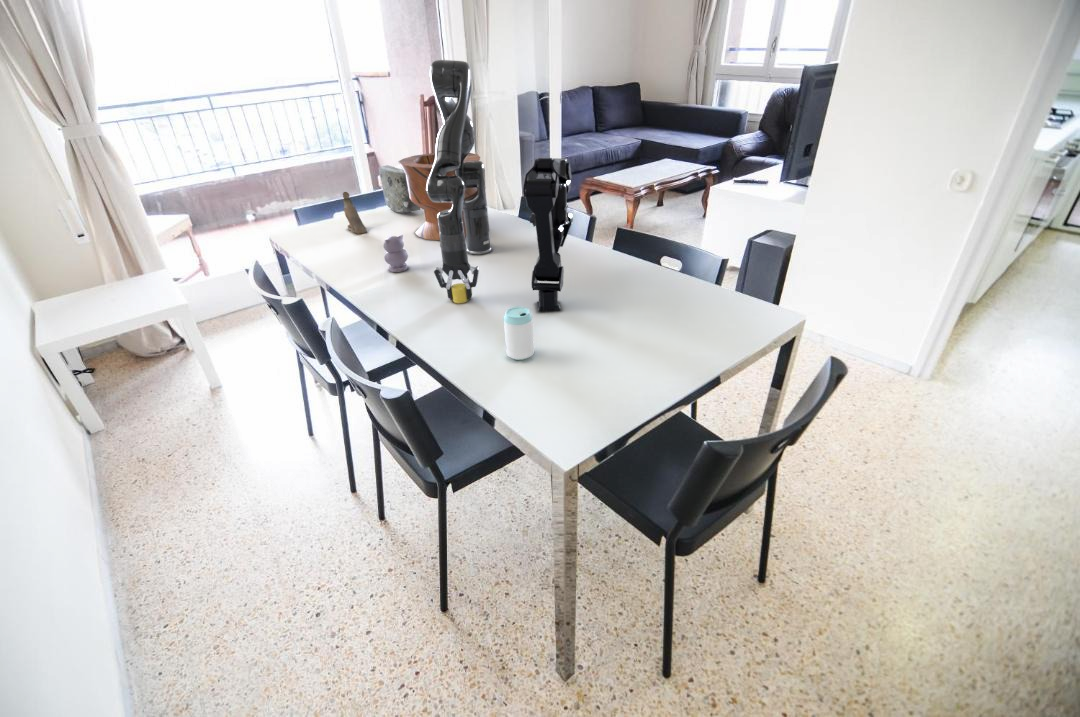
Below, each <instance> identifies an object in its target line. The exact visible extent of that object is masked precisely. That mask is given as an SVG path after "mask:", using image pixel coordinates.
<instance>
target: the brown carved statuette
mask: <svg viewBox="0 0 1080 717" xmlns="http://www.w3.org/2000/svg"><path fill="white" fill-rule="evenodd" d="M342 198H343V202H342V203H343V206H344V208H343V212H344V215H345V219H347V222H348V223H349V224H348V225H347V230H349V231H351V232H352V233H354V234H357V235H361V234H365V233H367V232H368V230H367V228H366V226H365V224H364V223H363V221H362V219H361V217H360V215H359V213H358V210H357V208H356V207H355V206H354V204H353V201H352V199H350V193H349V192H347V191H343V192H342Z"/></svg>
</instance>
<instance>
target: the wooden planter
mask: <svg viewBox="0 0 1080 717" xmlns="http://www.w3.org/2000/svg"><path fill="white" fill-rule="evenodd" d="M435 155H436V152H432V153H424V154H417V155H415V154H414V155H410V156H408V157H404V158H402V159H400V160H398V164H399V165H400V167H401V169H402V170H403V171H404V172H405V174H406V179H407V185H408V191H409V197H410V199H411V201H412V202H413V203H415V204H416V205H418V206H419V207H420V209H422V210H423V213H424V220H425V221H424V222H423V223H422V224H421V225H420V227H418V229H417V230H416V231H415V234H416V236H417V237H419V238H421V239H424V240H428V241H429V240H431V241H440V232H439V225H438V213H439V212H441V211H443V210H447V209H451V208H452V202H451V203H450V202H433V201H431V200H430V198H429V197H428V194H427V182H428V179H429V176H430V173H431V171H432V168H433V165H434V162H435ZM464 161H481V156H480V155H479V154H478V153H477V154H476V153H472V152H470V153H469V154H468V155H467V156H466V158H465V159H464ZM445 176H455V175H454V171H452V172H449V173H447V174H446V175H445ZM476 191H477V188H465V196H464V198H466V197H468V196H470V195H472V194H474V193H475V192H476ZM462 220H463V229H464V234H465V237H466V233H465V224H464V215H463V211H462Z"/></svg>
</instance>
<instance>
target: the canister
mask: <svg viewBox="0 0 1080 717" xmlns="http://www.w3.org/2000/svg"><path fill="white" fill-rule="evenodd" d="M451 290H452V297H453V300H452V302H453V303H455V304H465V303H467V302H468V301H469V300H467V293H466V286H465V284H464V283H463V282H462V283H461V282H460V283H455V284H451Z"/></svg>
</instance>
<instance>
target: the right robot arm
mask: <svg viewBox="0 0 1080 717" xmlns="http://www.w3.org/2000/svg"><path fill="white" fill-rule="evenodd" d="M539 175H543V178H538V177H539ZM572 176H573V175H572V168H571V162H569V160H568V158H567V157H562V158H555V157H554V158H553V157H538V158H535V160H534V165H533V166H532V167H531V168H530V169H529V170H528V171H527V172H526V174H525V177H524V181H523V187H522V193H523V197H524V198H525V201H526V202H525V203H526V207H527V208H528V209H529V210H530V211H531V212H532V213H531V215H530V216H529V224H532V227H535V230H536V241H537V247H538V248H537V250H538V255H537V258H536V262H535V265H534V267H533V269H532V272H531V289H532V291H538V301H536V306H537V310H538V313H545V312H558V311H561V306H560V302H559V292H560V293H561V292H562V289H563V287H564V273H565V272H564V271H565V270H564V266H563V265H562V259H561V254H560V253H559V251H560V248H562V247H564V244H565V242H566V239H567V236H568V234H569V232H570V229H571V227H572V224H573V221H574V219H573V218H574V216H573V214H572V213H571V212H568V208H569V203H568V202H567V201H568V200H567V198H568V197H567V195H568V194H569V192H570V191H571V188H572V181H571V180H572V179H573V178H572Z"/></svg>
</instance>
